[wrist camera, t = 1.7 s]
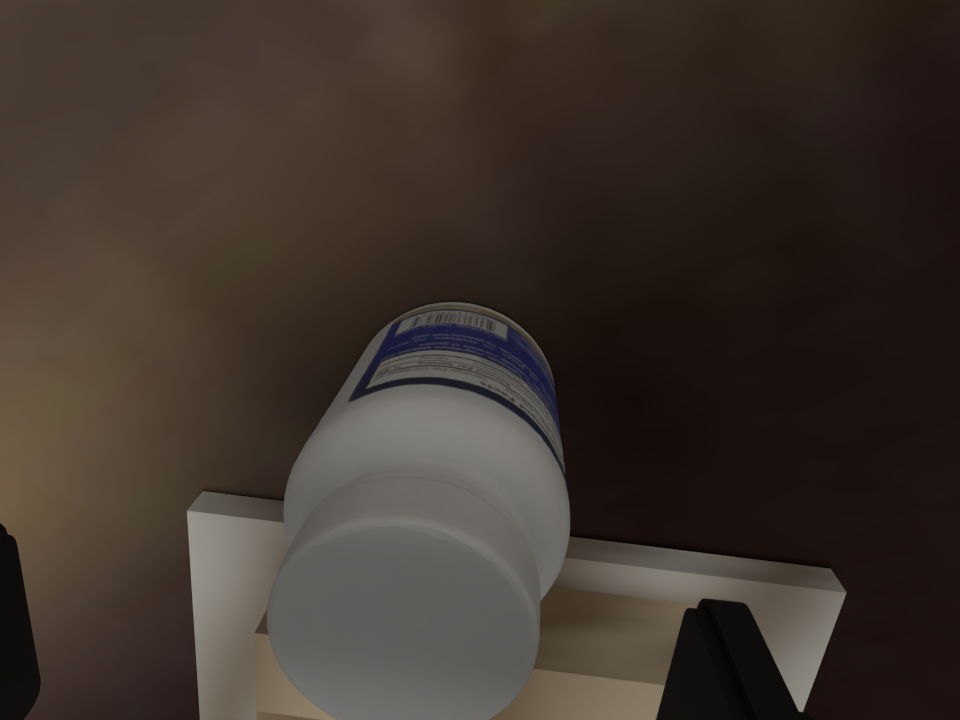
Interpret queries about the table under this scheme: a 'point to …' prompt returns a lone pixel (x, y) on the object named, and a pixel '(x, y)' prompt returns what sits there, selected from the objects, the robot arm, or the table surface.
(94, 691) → the table surface
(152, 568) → the table surface
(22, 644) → the robot arm
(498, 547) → the pill bottle
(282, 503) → the frame
